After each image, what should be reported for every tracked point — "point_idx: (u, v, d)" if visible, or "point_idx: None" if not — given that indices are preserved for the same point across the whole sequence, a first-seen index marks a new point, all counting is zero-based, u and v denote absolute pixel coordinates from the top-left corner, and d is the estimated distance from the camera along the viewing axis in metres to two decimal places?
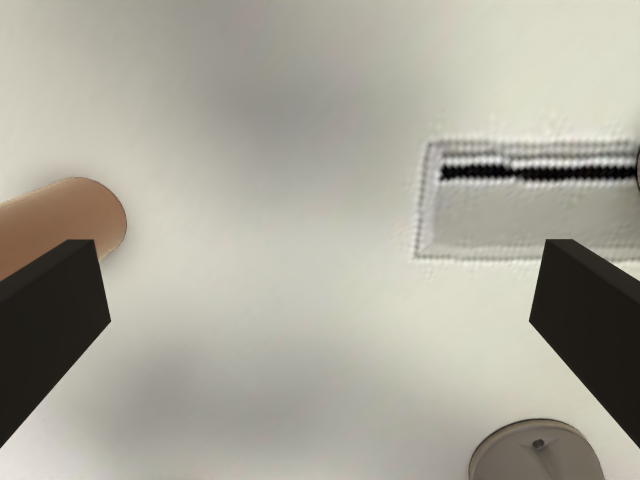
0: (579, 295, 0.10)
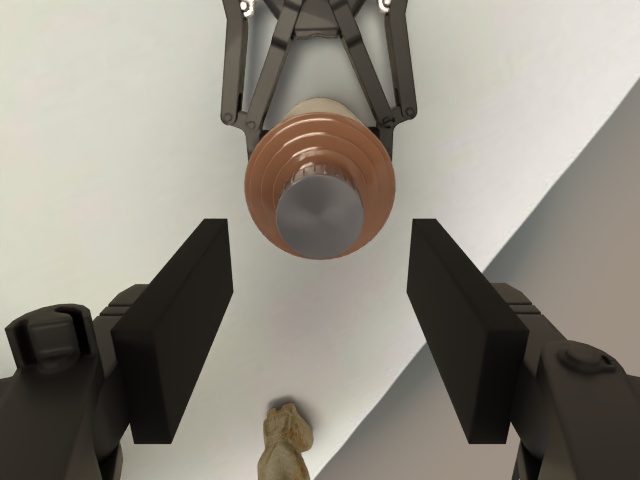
0: (424, 263, 0.12)
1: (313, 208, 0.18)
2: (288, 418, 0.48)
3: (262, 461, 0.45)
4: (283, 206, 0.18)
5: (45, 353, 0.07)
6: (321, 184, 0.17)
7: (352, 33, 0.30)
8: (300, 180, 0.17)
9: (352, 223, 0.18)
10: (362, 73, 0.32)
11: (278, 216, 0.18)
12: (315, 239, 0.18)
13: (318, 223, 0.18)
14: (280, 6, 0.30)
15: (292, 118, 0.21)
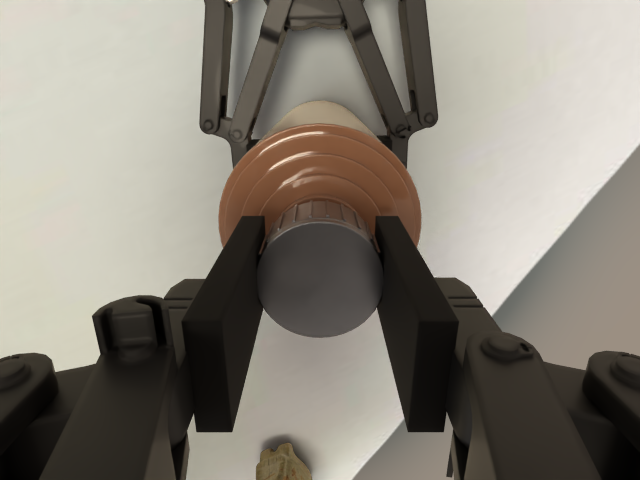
0: (382, 259, 0.12)
1: (310, 268, 0.12)
2: (283, 463, 0.43)
3: None
4: (266, 265, 0.12)
5: (126, 341, 0.07)
6: (322, 234, 0.12)
7: (360, 22, 0.24)
8: (290, 229, 0.12)
9: (367, 289, 0.12)
10: (372, 71, 0.26)
11: (258, 280, 0.12)
12: (313, 311, 0.12)
13: (317, 289, 0.12)
14: None
15: (282, 132, 0.15)
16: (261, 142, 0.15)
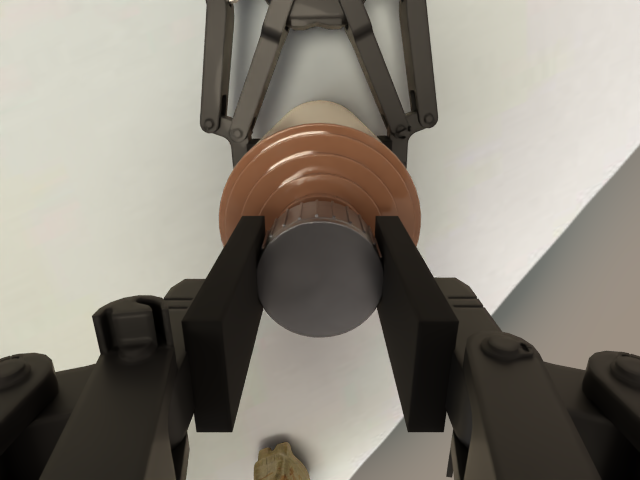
0: (382, 259, 0.12)
1: (303, 289, 0.12)
2: (281, 462, 0.43)
3: None
4: (296, 326, 0.13)
5: (126, 341, 0.07)
6: (268, 276, 0.12)
7: (361, 22, 0.25)
8: (262, 301, 0.12)
9: (332, 238, 0.12)
10: (372, 71, 0.26)
11: (311, 334, 0.13)
12: (351, 291, 0.12)
13: (327, 285, 0.12)
14: None
15: (283, 131, 0.15)
16: (262, 141, 0.16)
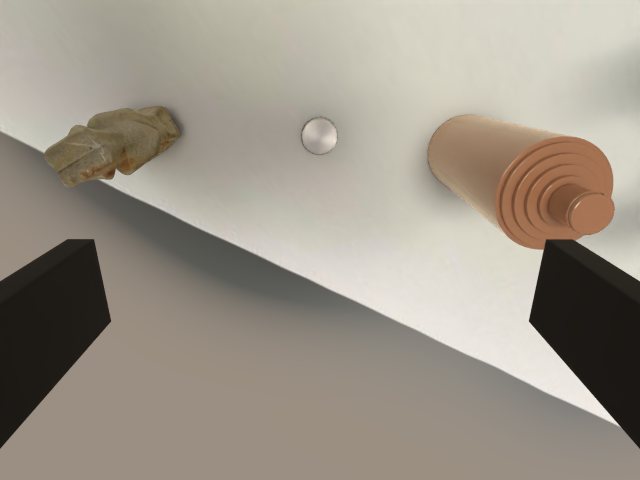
0: (580, 294, 0.10)
1: (314, 137, 0.45)
2: (176, 136, 0.43)
3: (135, 114, 0.38)
4: (308, 147, 0.45)
5: None
6: (307, 130, 0.44)
7: None
8: (302, 136, 0.45)
9: (327, 125, 0.44)
10: None
11: (311, 151, 0.45)
12: (326, 142, 0.45)
13: (321, 138, 0.45)
14: None
15: None
16: (608, 162, 0.28)
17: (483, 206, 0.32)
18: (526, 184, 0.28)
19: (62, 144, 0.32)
